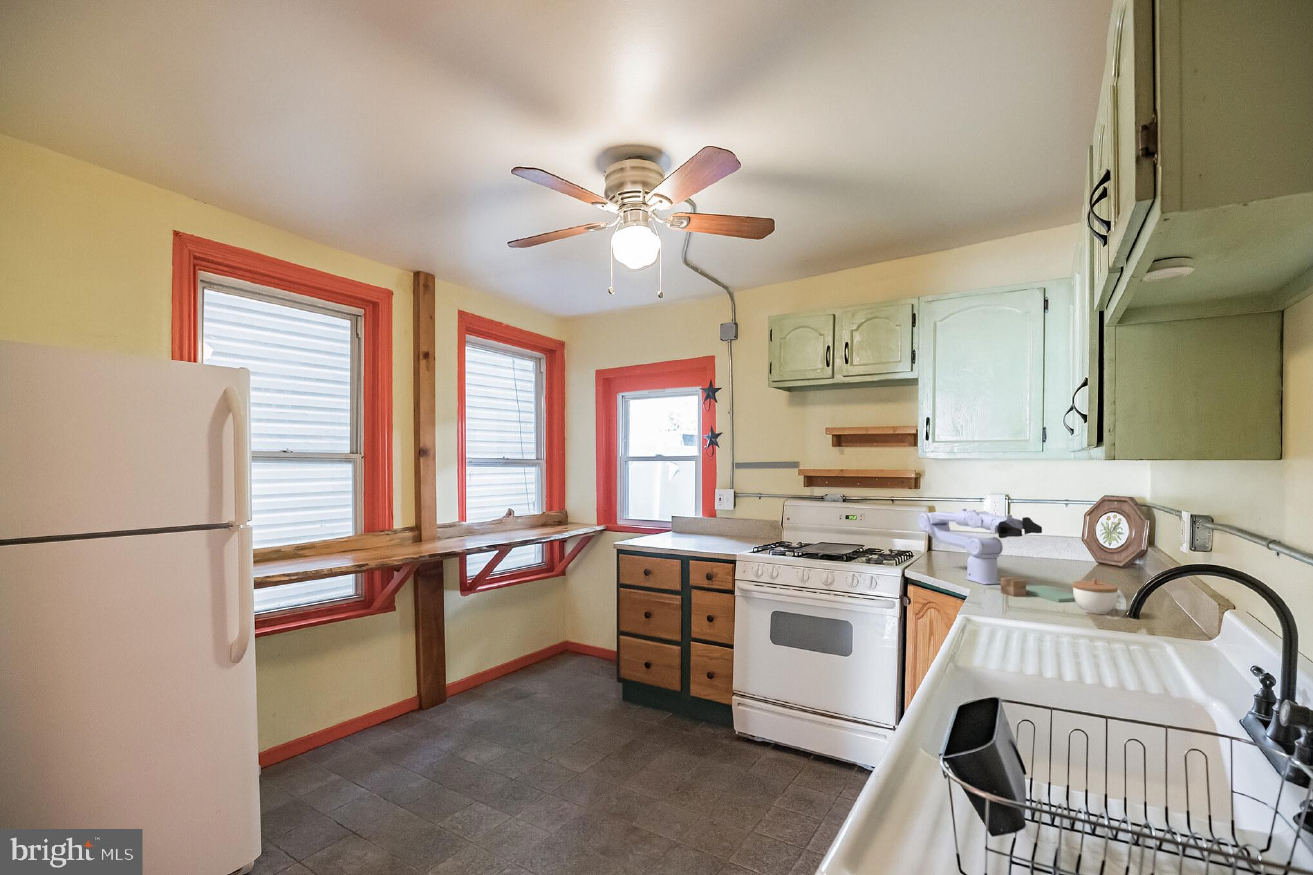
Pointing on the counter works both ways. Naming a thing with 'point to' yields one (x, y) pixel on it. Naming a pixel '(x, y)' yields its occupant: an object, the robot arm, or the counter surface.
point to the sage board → (1050, 593)
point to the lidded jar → (1095, 596)
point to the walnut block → (1013, 586)
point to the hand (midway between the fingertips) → (1031, 531)
